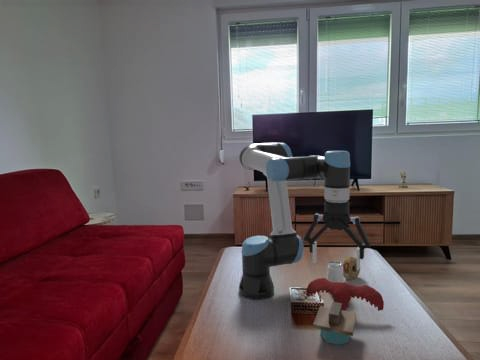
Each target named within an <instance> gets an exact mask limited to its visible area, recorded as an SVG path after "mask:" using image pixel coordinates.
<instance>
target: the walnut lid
mask: <svg viewBox="0 0 480 360" xmlns="http://www.w3.org/2000/svg"><path fill="white" fill-rule="evenodd" d="M356 319H357V312H353V311H349V310H347V311H344V310H342V303H337V302H334V301H332V303H331V306H330V307H329V306H323V305H320V306H319V308H318V311H317V314H316V316H315V319H314V321H313V324H312V328H314V329H318V330H320V331H321V330H326V331H331V332H335V333H340V334H344V335H349V336H350V337H353V335H354V333H355V325H356Z"/></svg>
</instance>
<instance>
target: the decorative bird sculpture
mask: <svg viewBox="0 0 480 360" xmlns="http://www.w3.org/2000/svg"><path fill="white" fill-rule="evenodd" d="M305 291H306V292H305V295H306V296H307V297H308V298H310V296H313V295H316V294H317V293H318V294H319V293H320V292H321V293H323V294H324V292H325V293H326V294H330V295H332V298H333V302H337V303H342V310H344V311H348V308H349V307H350V306H349V304H350V302H351V300H352V299H355V298H356V299H357V300H358V299H360V300H361V301H363V300H364V299H365V301H366V303H369V304H370V306H374V308H377V311H378V312H380V311H383V310H384V305H385V303H384V302H385V301H384V298H383V296H382V294H381V293H380V292H379V291H377V290H376V289H375V288H373V287H371V286H369V285H367V284H363V285H359V286H358V285H357V286H356V285H352V284H350V283H347V282H345V281H343V282H330V281H328V280H327V278H325V277H321V278H316V279H313V280H311V281H310V282H309V284H308V285H307V287H306V290H305Z"/></svg>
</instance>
